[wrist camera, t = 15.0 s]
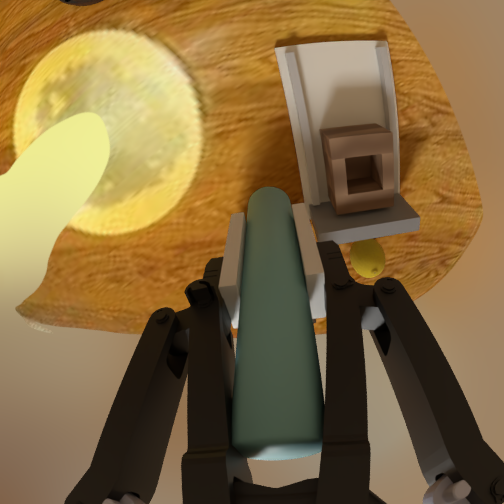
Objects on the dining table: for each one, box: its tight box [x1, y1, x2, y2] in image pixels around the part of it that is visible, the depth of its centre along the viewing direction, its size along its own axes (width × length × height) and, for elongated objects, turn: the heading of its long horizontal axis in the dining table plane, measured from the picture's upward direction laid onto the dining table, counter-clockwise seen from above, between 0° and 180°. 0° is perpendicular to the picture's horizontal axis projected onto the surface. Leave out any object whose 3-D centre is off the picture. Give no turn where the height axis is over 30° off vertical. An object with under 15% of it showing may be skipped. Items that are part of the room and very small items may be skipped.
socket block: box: [319, 123, 394, 215], centre depth 34 cm, size 10×8×6 cm
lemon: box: [350, 239, 385, 278], centre depth 42 cm, size 6×6×8 cm
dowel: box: [231, 187, 325, 460], centre depth 14 cm, size 3×3×16 cm
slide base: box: [274, 41, 420, 244], centre depth 31 cm, size 25×15×9 cm, turn 13°
